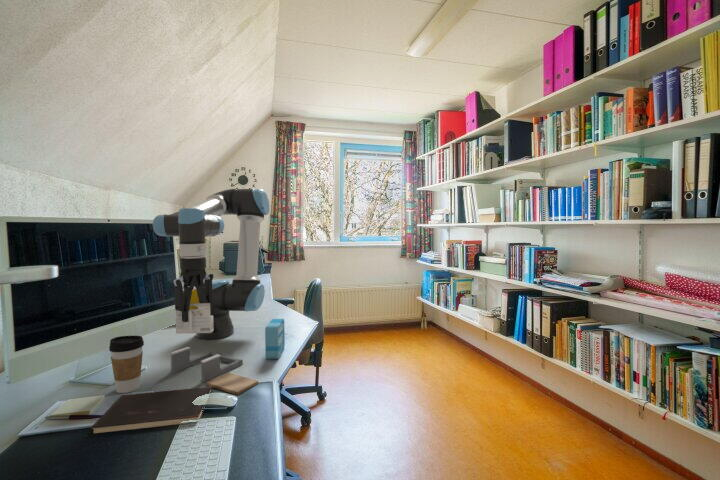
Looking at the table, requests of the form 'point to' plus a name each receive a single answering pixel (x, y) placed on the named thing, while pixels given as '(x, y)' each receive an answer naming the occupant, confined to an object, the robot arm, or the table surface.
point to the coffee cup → (126, 362)
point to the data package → (274, 339)
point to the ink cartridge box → (197, 319)
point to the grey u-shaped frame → (203, 363)
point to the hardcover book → (151, 410)
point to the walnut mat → (232, 383)
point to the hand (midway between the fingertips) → (195, 328)
